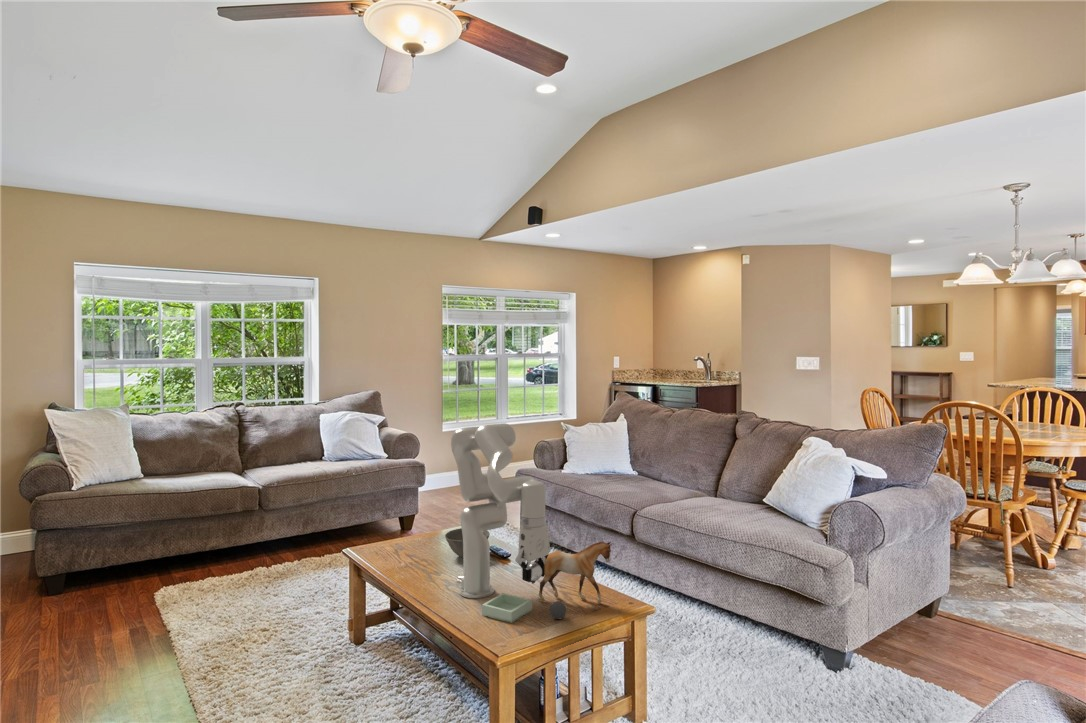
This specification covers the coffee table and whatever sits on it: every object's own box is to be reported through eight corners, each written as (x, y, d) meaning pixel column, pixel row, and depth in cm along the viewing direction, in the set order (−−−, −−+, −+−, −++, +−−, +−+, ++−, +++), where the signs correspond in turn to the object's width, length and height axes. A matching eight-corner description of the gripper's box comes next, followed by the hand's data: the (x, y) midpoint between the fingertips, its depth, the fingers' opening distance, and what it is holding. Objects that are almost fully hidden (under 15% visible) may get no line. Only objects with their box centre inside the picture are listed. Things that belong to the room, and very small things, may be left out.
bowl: (440, 554, 279) (439, 531, 279) (481, 547, 287) (481, 525, 287) (452, 567, 262) (452, 542, 262) (496, 560, 270) (496, 536, 270)
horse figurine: (613, 598, 228) (612, 540, 228) (612, 607, 221) (611, 547, 220) (526, 594, 233) (525, 537, 233) (522, 602, 226) (521, 544, 225)
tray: (481, 615, 215) (481, 604, 215) (503, 602, 225) (503, 592, 225) (511, 623, 209) (511, 612, 209) (531, 610, 219) (531, 599, 219)
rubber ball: (546, 619, 211) (546, 602, 211) (555, 613, 216) (555, 597, 216) (561, 623, 208) (560, 606, 208) (569, 617, 213) (569, 600, 213)
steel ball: (521, 581, 203) (521, 563, 203) (531, 575, 208) (531, 558, 207) (536, 584, 200) (536, 567, 200) (545, 579, 205) (545, 562, 204)
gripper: (522, 529, 194) (523, 589, 195) (560, 517, 207) (560, 573, 208) (505, 524, 199) (505, 582, 200) (543, 513, 212) (543, 568, 213)
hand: (533, 577), depth 204 cm, fingers closed on steel ball, 5 cm apart
